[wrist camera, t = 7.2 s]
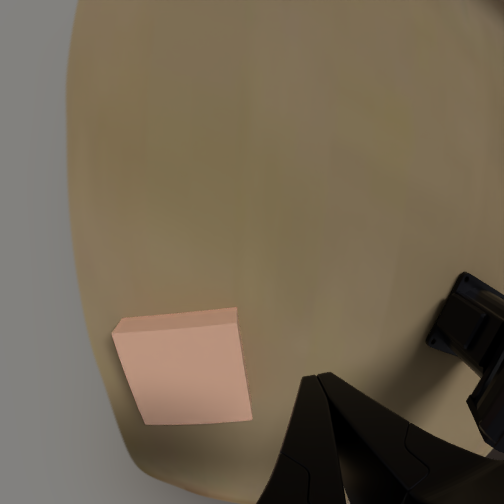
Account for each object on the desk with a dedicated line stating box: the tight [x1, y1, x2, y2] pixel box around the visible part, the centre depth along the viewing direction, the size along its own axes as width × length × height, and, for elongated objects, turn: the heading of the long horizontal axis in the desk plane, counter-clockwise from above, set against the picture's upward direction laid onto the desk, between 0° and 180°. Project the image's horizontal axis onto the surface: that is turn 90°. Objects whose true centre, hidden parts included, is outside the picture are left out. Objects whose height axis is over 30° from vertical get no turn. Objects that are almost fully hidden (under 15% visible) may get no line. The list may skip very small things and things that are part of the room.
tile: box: [111, 307, 253, 425], centre depth 21 cm, size 3×8×8 cm
